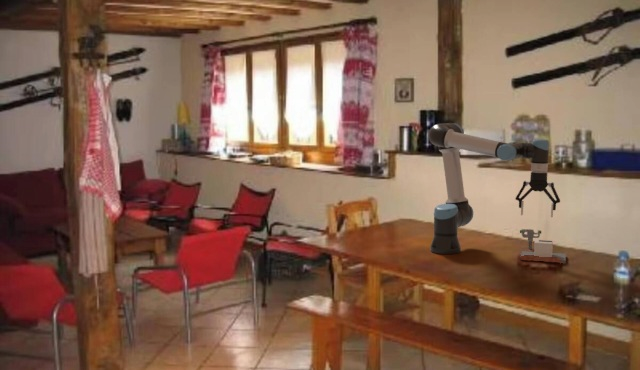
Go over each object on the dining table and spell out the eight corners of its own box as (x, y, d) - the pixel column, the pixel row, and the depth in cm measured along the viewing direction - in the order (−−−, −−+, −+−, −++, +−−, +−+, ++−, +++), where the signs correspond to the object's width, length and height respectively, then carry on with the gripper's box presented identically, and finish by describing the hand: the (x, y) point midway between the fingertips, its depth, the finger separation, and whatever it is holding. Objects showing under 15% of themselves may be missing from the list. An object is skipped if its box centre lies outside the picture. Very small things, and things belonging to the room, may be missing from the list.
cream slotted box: (534, 257, 304) (534, 241, 303) (534, 253, 312) (535, 238, 311) (551, 258, 301) (552, 242, 300) (552, 254, 309) (552, 239, 308)
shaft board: (520, 260, 304) (520, 248, 303) (522, 254, 317) (522, 242, 316) (565, 263, 297) (565, 251, 296) (565, 256, 310) (566, 244, 309)
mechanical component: (541, 250, 324) (541, 230, 323) (519, 249, 326) (520, 230, 325) (540, 248, 327) (540, 229, 326) (519, 248, 329) (519, 229, 328)
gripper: (511, 171, 305) (508, 215, 308) (567, 174, 296) (564, 219, 299) (512, 169, 312) (510, 212, 315) (567, 172, 303) (564, 216, 306)
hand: (536, 215), depth 307 cm, fingers open, 13 cm apart
